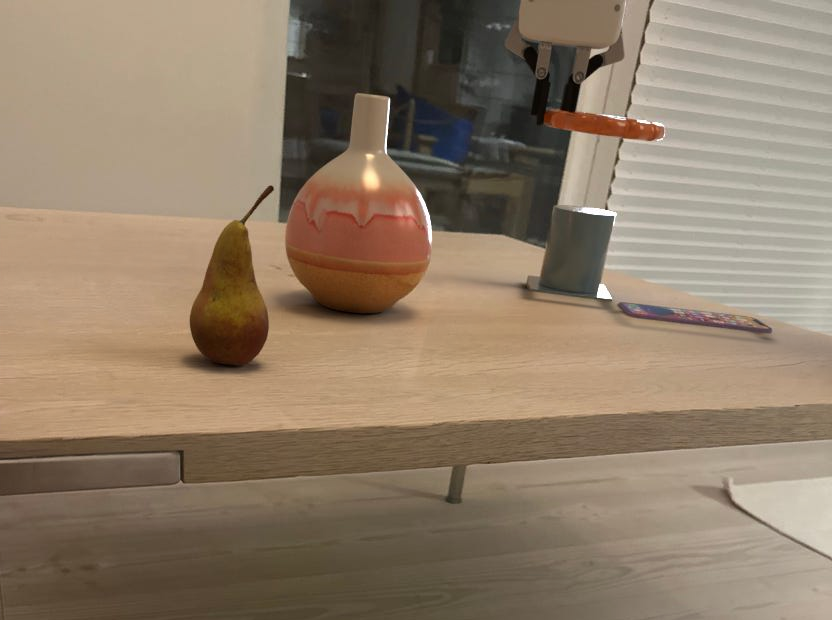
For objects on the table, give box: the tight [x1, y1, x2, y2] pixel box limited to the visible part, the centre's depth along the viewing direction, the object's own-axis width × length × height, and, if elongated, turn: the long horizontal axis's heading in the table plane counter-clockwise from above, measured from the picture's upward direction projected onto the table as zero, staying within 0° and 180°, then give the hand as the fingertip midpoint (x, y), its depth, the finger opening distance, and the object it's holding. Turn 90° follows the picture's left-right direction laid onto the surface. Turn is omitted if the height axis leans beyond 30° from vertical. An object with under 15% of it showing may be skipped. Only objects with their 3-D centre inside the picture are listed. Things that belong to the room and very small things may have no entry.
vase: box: [284, 92, 433, 314], centre depth 84 cm, size 14×14×18 cm
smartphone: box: [617, 301, 773, 334], centre depth 97 cm, size 1×7×15 cm
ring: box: [543, 107, 666, 142], centre depth 96 cm, size 12×12×2 cm
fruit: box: [189, 185, 275, 366], centre depth 65 cm, size 6×6×12 cm
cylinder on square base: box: [525, 204, 617, 302], centre depth 103 cm, size 9×9×9 cm
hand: (550, 124), depth 96 cm, fingers closed on ring, 1 cm apart
